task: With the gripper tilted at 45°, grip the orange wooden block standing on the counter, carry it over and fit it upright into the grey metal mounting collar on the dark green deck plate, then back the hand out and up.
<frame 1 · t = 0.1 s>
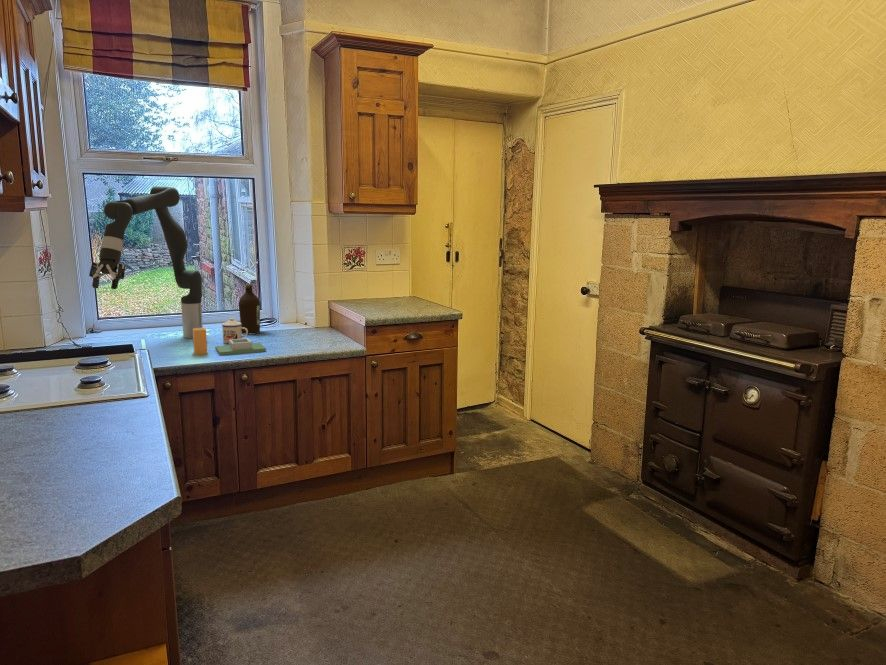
hand: (104, 288, 243), 31 cm above the worktop, tool tilted 20°, fingers open, 8 cm apart
olive oil: (250, 332, 317), on the worktop
deck plate: (240, 350, 278), on the worktop
orange wooden block: (200, 353, 271), on the worktop
teacup with lid: (235, 342, 294), on the worktop
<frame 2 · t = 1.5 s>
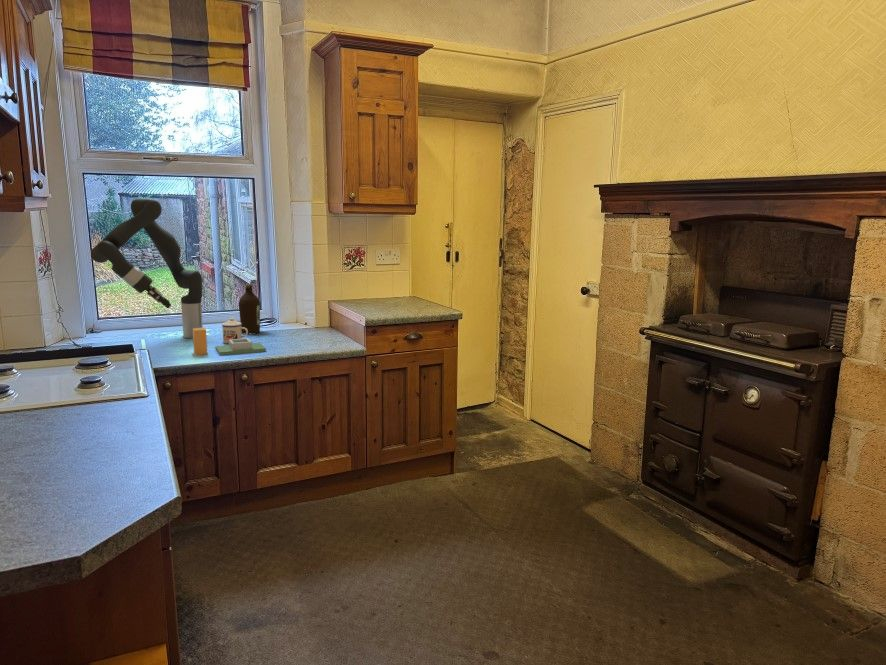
hand: (168, 305, 261), 22 cm above the worktop, tool tilted 45°, fingers open, 8 cm apart
nothing on the worktop moved.
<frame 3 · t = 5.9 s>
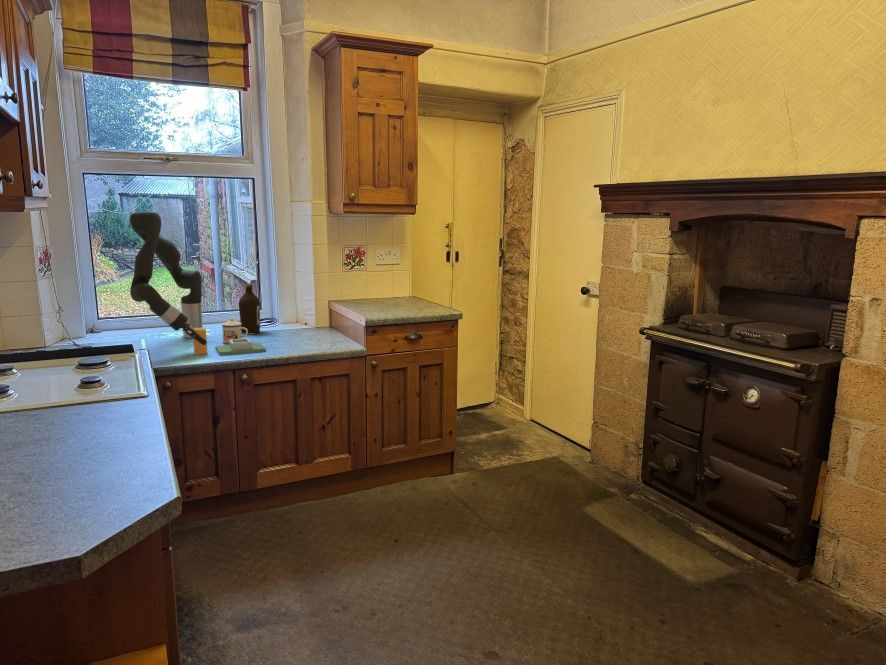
hand: (204, 342, 271), 5 cm above the worktop, tool tilted 45°, fingers closed on orange wooden block, 5 cm apart
orange wooden block: (200, 353, 271), on the worktop, touching gripper
everything else where it was.
when the fingers open (8 cm above the worktop, at t = 10.9 s): orange wooden block drops 1 cm, resting on deck plate.
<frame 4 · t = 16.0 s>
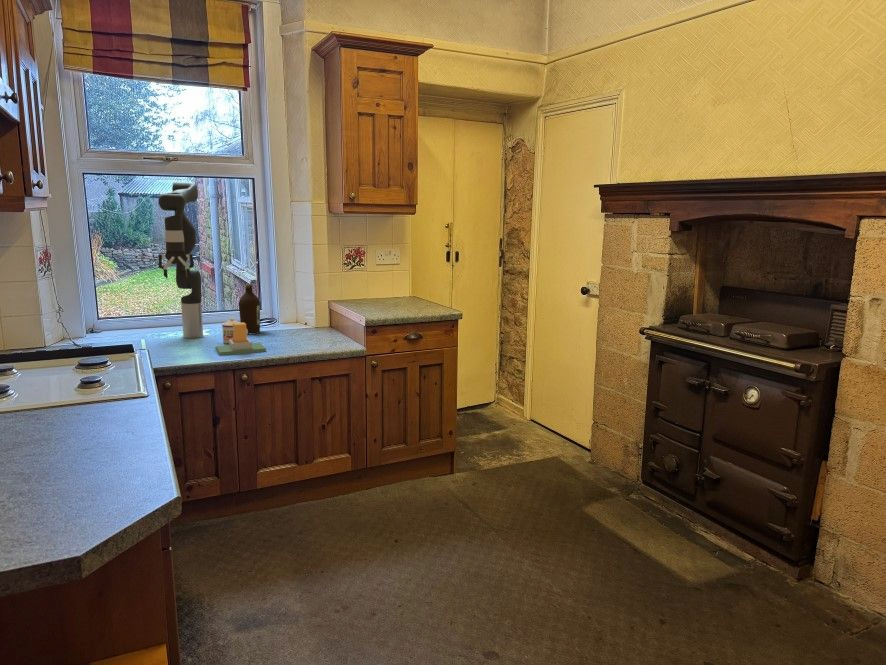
hand: (177, 277, 269), 33 cm above the worktop, tool pointing down, fingers open, 8 cm apart
orange wooden block: (240, 347, 278), point 1 cm above the worktop, touching deck plate
everything else where it was.
at the end: orange wooden block 0.1 cm off-centre on the deck plate, point 1.5 cm above the deck plate's base; orange wooden block tilted 0°; the gripper is holding nothing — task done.
